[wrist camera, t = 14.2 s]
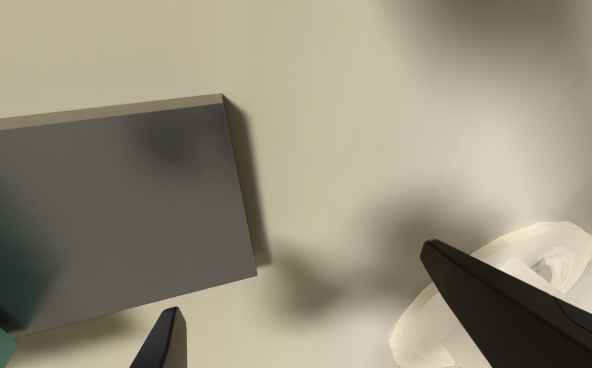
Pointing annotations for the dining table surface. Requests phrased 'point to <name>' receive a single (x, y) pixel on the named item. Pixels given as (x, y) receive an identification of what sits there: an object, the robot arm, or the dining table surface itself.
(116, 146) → the vise base
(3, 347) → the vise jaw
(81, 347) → the dining table surface
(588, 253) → the dish
